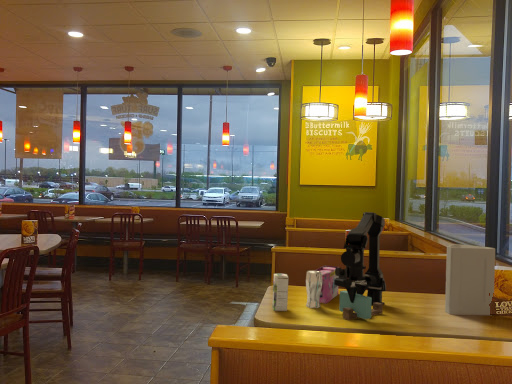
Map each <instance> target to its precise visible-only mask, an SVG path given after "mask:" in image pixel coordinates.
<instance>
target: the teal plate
mask: <svg viewBox="0 0 512 384" xmlns="http://www.w3.org/2000/svg"><path fill="white" fill-rule="evenodd" d="M371 303H372V298H371V297H367V295H364V294H363V295H360V294H356V295H355V299H354V303H351V301H350V298H349V295H348V292H347V290H340V291H339V305H338V306H339V307H338V311H339V312H342V313H343V308H346V307H348V308H352V309H353V312H356V313H357V317H360V318H359V319H363V320H369V319H372V316H371V309H372V304H371Z"/></svg>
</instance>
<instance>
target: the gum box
mask: <svg viewBox="0 0 512 384" xmlns="http://www.w3.org/2000/svg"><path fill="white" fill-rule="evenodd" d="M335 268H340V266H335V265H334V266H333V265H322V266H320V267H318V268H317V269H314V270H313V271H321V272H322V288H321V293H320V304H328V303H330V301H331V300H333V299H334V298H335V297H337V296H338V295H339V287H340V286H337V285H334V280H335V278H339V277H338V276H336V275H335Z"/></svg>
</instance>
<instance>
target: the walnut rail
mask: <svg viewBox="0 0 512 384" xmlns="http://www.w3.org/2000/svg"><path fill="white" fill-rule="evenodd" d="M383 305H384V304H381V303H378V302H376V303H373V305H372V308H371V317H373V316H376V315H382V314H383V307H384V306H383ZM342 318H343V319H344V320H347V321H351V320H356V319H361V318H360V317H357V313H356V312H353V309H352V308H348V307H346V308H343V312H342Z"/></svg>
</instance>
